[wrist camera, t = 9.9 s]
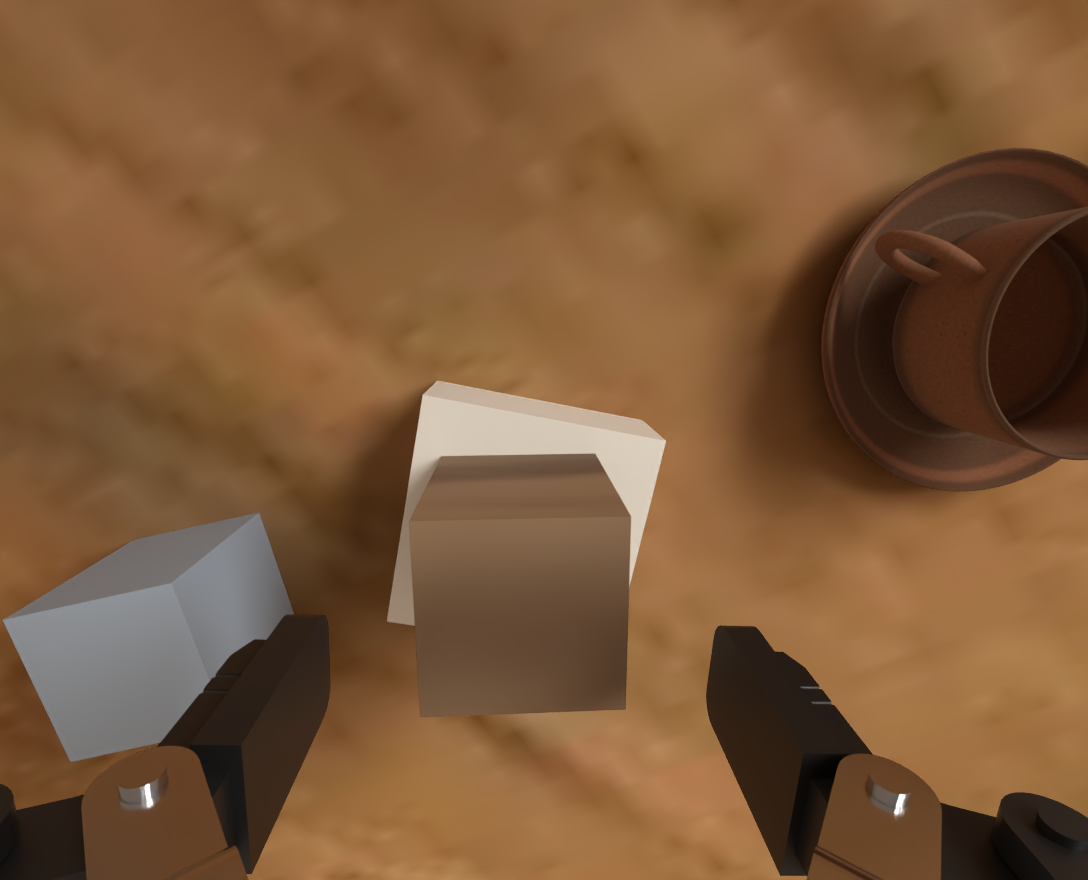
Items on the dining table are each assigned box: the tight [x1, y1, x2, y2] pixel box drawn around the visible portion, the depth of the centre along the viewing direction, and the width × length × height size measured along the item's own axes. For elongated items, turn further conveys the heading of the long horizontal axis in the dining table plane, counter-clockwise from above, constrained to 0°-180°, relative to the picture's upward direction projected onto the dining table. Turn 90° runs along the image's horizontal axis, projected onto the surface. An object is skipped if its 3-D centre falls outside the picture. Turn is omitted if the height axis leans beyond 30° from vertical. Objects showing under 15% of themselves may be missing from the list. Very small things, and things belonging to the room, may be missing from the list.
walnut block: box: [409, 453, 631, 717], centre depth 17 cm, size 5×5×6 cm
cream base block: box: [387, 381, 666, 626], centre depth 21 cm, size 8×8×4 cm
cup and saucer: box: [821, 148, 1088, 491], centre depth 20 cm, size 12×12×6 cm
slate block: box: [3, 513, 294, 762], centre depth 20 cm, size 5×5×6 cm
